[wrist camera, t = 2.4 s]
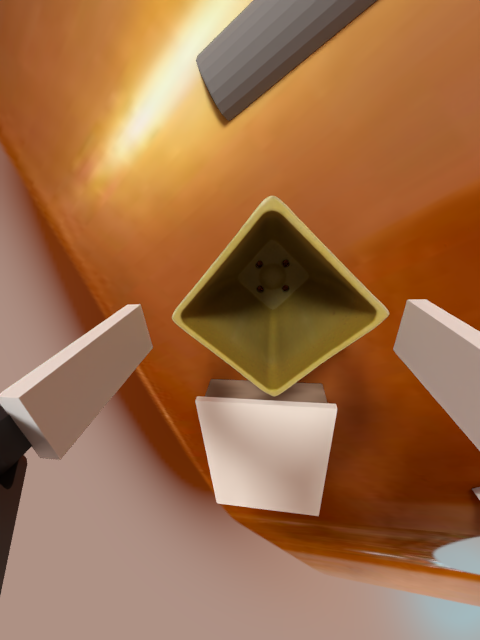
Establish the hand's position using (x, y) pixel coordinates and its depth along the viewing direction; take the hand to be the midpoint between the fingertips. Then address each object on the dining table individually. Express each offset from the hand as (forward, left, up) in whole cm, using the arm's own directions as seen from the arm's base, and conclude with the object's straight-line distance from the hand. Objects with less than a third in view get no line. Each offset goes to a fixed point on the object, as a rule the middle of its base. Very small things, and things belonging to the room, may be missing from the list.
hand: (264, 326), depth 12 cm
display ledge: (+1, +22, -10) cm, 24 cm away
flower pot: (0, 0, -10) cm, 10 cm away
